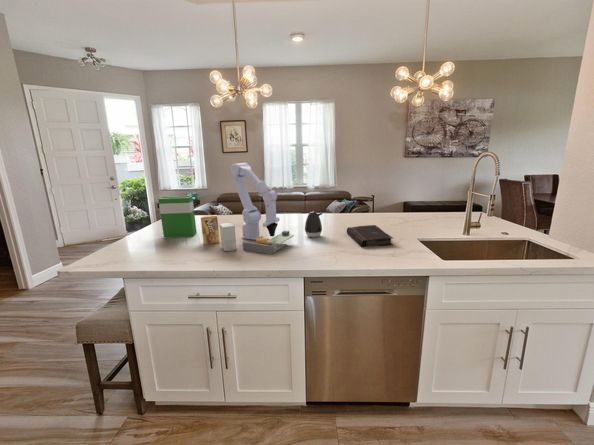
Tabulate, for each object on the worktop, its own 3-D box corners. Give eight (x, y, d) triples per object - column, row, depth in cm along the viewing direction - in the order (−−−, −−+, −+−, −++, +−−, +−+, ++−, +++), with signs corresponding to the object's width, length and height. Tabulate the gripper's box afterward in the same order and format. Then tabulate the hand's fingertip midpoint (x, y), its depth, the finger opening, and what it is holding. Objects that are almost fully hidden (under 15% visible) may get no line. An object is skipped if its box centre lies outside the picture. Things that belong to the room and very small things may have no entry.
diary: (360, 249, 152) (360, 239, 151) (346, 235, 176) (346, 227, 175) (394, 245, 154) (395, 236, 153) (375, 232, 178) (376, 224, 177)
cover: (281, 234, 163) (281, 229, 162) (293, 236, 159) (293, 231, 159) (266, 242, 150) (265, 237, 149) (279, 244, 146) (279, 239, 145)
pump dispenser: (321, 239, 167) (321, 213, 163) (303, 238, 169) (303, 212, 165) (323, 234, 176) (323, 209, 173) (306, 233, 179) (306, 209, 175)
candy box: (219, 240, 169) (216, 214, 165) (219, 242, 165) (217, 216, 162) (203, 242, 166) (200, 216, 163) (203, 244, 163) (200, 217, 159)
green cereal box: (163, 237, 177) (158, 198, 171) (168, 234, 184) (163, 196, 178) (193, 236, 178) (188, 197, 172) (196, 233, 185) (192, 195, 179)
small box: (236, 249, 153) (234, 225, 150) (224, 251, 151) (222, 227, 147) (233, 245, 160) (231, 222, 157) (221, 247, 158) (219, 223, 154)
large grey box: (242, 249, 153) (242, 242, 152) (259, 241, 166) (258, 234, 165) (272, 254, 145) (271, 246, 144) (286, 245, 158) (286, 238, 157)
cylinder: (255, 242, 159) (256, 237, 160) (258, 243, 162) (259, 237, 163) (270, 245, 155) (271, 239, 155) (273, 245, 158) (274, 239, 158)
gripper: (270, 216, 153) (271, 240, 157) (283, 210, 166) (284, 233, 169) (258, 214, 156) (260, 239, 160) (273, 209, 169) (274, 232, 172)
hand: (272, 236), depth 165 cm, fingers closed
